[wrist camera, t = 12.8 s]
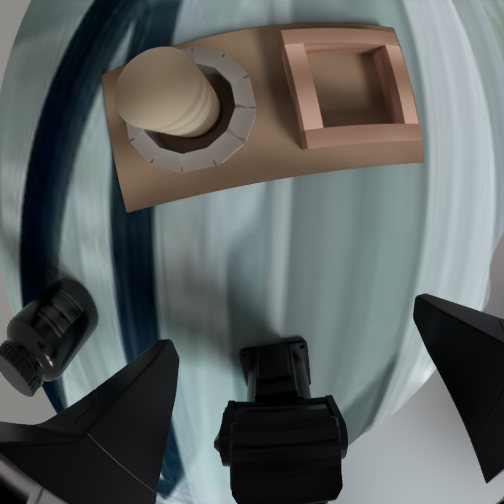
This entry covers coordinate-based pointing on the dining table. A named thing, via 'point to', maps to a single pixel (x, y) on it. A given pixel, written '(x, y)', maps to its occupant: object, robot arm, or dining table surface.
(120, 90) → the round peg
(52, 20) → the dining table surface
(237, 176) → the socket board
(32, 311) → the supplement bottle
